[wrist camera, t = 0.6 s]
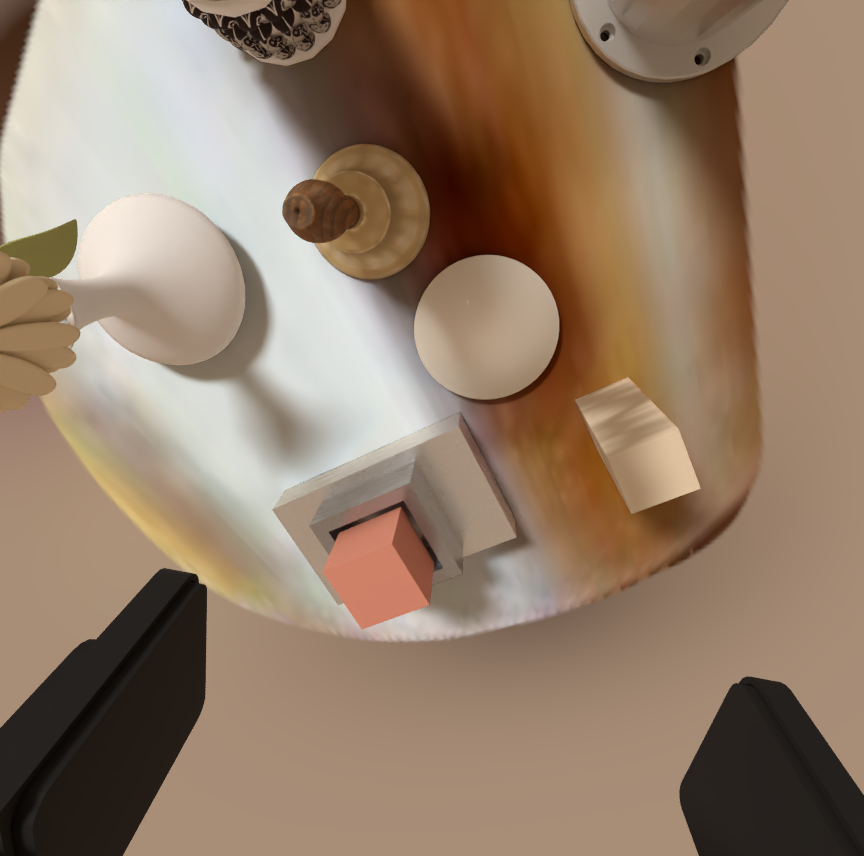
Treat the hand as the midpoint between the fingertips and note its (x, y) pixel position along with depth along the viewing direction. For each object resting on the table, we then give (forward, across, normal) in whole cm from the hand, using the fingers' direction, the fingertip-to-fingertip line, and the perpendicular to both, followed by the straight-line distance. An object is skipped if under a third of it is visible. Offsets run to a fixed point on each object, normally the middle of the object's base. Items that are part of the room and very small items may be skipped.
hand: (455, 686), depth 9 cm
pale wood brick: (+30, -12, +3) cm, 32 cm away
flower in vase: (+31, +20, -1) cm, 37 cm away
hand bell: (+30, +8, -7) cm, 32 cm away
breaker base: (+30, +3, +14) cm, 34 cm away
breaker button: (+24, +3, +14) cm, 28 cm away
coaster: (+30, -1, -1) cm, 30 cm away
